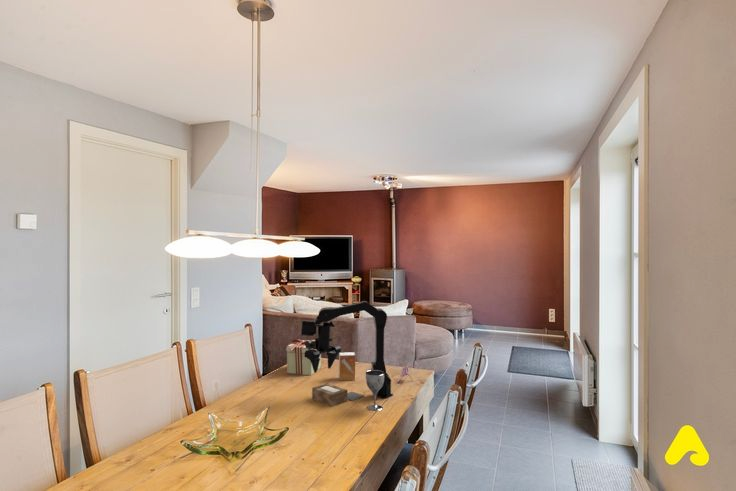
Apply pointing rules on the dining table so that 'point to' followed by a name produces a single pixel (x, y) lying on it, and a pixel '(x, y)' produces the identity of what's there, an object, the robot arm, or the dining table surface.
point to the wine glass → (374, 386)
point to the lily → (404, 372)
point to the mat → (353, 396)
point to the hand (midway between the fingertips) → (322, 370)
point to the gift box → (299, 358)
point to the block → (330, 389)
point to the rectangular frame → (329, 395)
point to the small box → (347, 366)
